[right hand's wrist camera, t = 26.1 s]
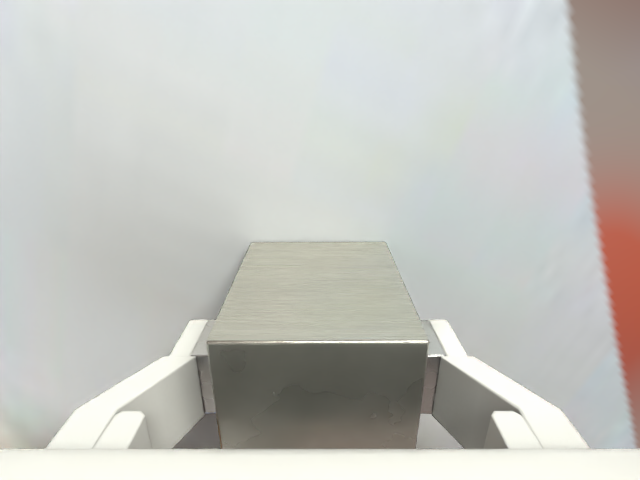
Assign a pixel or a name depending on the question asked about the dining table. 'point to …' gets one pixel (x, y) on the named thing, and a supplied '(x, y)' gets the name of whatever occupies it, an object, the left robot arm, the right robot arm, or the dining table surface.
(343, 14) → the dining table surface
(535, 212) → the dining table surface
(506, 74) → the dining table surface
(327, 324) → the block
